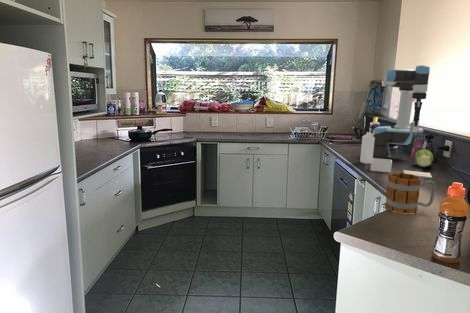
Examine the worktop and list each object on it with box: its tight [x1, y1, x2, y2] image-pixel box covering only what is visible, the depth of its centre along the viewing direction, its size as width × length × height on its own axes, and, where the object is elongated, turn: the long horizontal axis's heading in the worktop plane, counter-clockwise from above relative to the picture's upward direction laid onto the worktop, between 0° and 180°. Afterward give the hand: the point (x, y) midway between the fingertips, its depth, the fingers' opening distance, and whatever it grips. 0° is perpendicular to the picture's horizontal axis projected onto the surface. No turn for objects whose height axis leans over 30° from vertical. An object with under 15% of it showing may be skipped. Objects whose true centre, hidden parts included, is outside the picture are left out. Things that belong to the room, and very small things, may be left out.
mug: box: [384, 172, 437, 214], centre depth 151 cm, size 20×14×15 cm
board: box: [403, 169, 433, 179], centre depth 216 cm, size 11×15×1 cm
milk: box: [359, 131, 375, 164], centre depth 242 cm, size 6×6×22 cm
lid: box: [387, 121, 420, 134], centre depth 214 cm, size 11×17×6 cm, turn 65°
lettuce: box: [413, 148, 434, 168], centre depth 237 cm, size 12×21×11 cm, turn 152°
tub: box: [369, 157, 393, 174], centre depth 223 cm, size 10×12×7 cm
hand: (414, 131), depth 212 cm, fingers closed on lid, 4 cm apart
